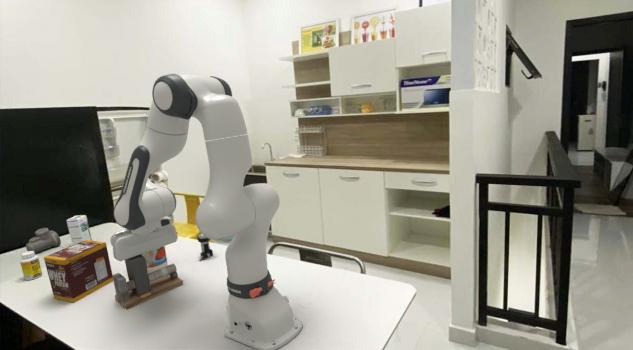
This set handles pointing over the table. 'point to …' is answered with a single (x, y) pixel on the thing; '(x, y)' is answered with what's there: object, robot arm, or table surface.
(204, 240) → the push button
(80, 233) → the syrup box
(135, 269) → the dark grey upright block
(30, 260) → the supplement bottle
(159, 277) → the pipe rig
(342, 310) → the table surface
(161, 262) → the fruit juice
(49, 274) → the supplement box
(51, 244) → the pipe fitting
